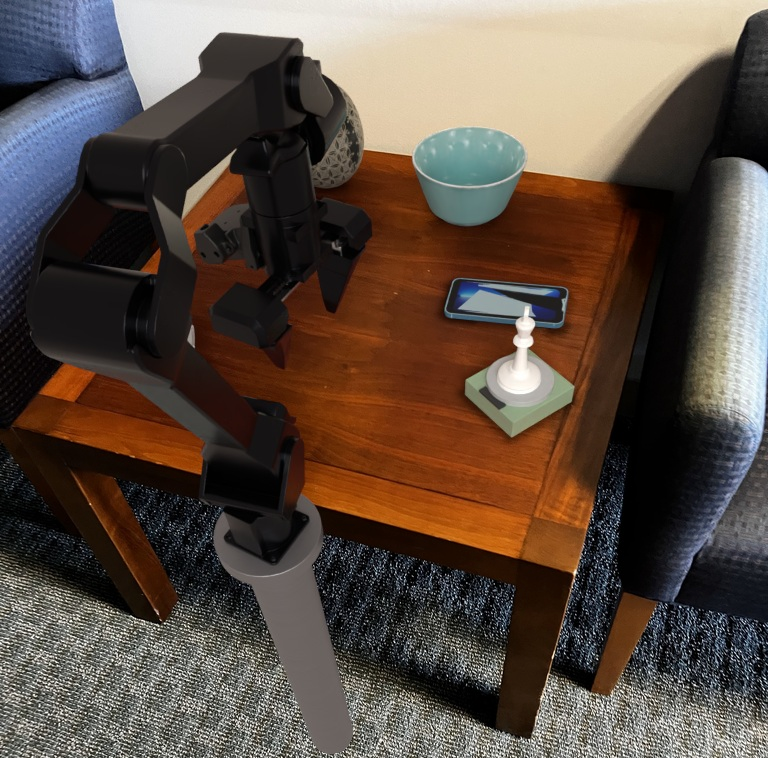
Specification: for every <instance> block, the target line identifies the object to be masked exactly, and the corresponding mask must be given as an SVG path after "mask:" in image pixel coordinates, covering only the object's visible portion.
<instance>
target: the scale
mask: <svg viewBox="0 0 768 758" xmlns="http://www.w3.org/2000/svg"><path fill="white" fill-rule="evenodd" d="M515 355H516V351H514V352H513V353H510V354H509V355H506V356H503V357H501V358H498V359H497V360H495V361H494V362H492V363H491V365H489V366H487V367H486V368H484V369H482V370H479V372H476V373H475V374H473V375H472V376H470V377H468V378H466V379H465V383H464V395H465V396H466V397H467V398H468V400H470V401H471V402H472V403H473V404H474V405H475V406H476V407H477V408H479V410H480V411H481V412H483V413H484V414H485V415H486V416H487V417H488V418H489V419H490V420H491V421H493V422H494V423H495V424H496V425H497V426H498V427H499V428H501V430H503V431H504V433H506V434H507V435H508V436H509V437H510V438H514V437H516V436H517V435H518V434H521V433H522V432H523V431H525V430H526V429H529V428H530V427H532V426H534V425H536V424H537V423H538V422H540V421H542V420H543V419H545V418H547V417H548V416H550V415H552V414H553V413H555V412H557V411H558V410H560V409H562V408H564V407H565V406H567V405H569V404H570V403H572V402H573V398H574V397H573V396H574V392H575V385H574V384H572V383H571V381H569V380H567V379H566V378H565V377H564V376H563V375H561V374H560V373H559V372H558V371H556V369H554V367H551V366H550V365H549V364H548V363H547V362H546V361H544V360H543V359H542V358H540V357H539V356H538V355H537V354H536V353H534V352H533V351H532V350H531V349H530V348H529V347H528V348H527V360H528V361H530V362H532V363H533V364H535V365H536V366H537V367H538V368H539V370H540V373H541V382H540V385H539V386H538V387H537V388H536V389H535V390H534V391H532V392H530V393H526V394H513V393H510V392H507V391H505V390H504V389H502V388H501V387H500V386H499V384H498V382H497V373H498V370H499V368H500V366H501V365H502V364H504V363H505V362H507V361H510V360H514V359H515Z"/></svg>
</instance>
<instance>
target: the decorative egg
mask: <svg viewBox="0 0 768 758" xmlns="http://www.w3.org/2000/svg"><path fill="white" fill-rule="evenodd" d="M335 84H336V85H337V86H338V88H339V89H340V91H341V92H342V94H343V97H344V99H345V100H346V103H347V116H346V119H345V122H344V124H343V125H342V127H341V129H340V130H339V132H338V134H337V135H336V137H335V139H334V141H333V142H332V144H331V146H330V147H329V149H328V151H327V152H326V154H325V156H324V157H323V159H322V161H321V162H319V163H318V164H316V165H314V166H312V174H313V181H314V188H318V189H333V188H338V187H340V186H342V185H343V184H346V183H347V182H348V181H349V180H351V178H352V177H354V175H355V174H356V172H357V171H358V169H359V167H360V165H361V162H362V160H363V155H364V151H365V136H364V128H363V123H362V119H361V116H360V114H359V111H358V109H357V106H356V104H355V103H354V101H353V99H352V98H351V96H350V95H349V94H348V92H347V91H345V90H344V88H343V87H341V86H340V85H339V84H337V83H335Z"/></svg>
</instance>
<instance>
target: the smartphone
mask: <svg viewBox="0 0 768 758" xmlns="http://www.w3.org/2000/svg"><path fill="white" fill-rule="evenodd" d="M569 293H570V291H569V289H568V288H566V287H564V286H559V285H557V286H555V285H545V284H533V283H523V282H512V281H502V280H501V281H500V280H491V279H490V280H489V279H478V278H469V277H468V278H467V277H458V278H457V277H456V278H454V279H453V280H452V282H451V285H450V287H449V292H448V295H447V298H446V302H445V305H444V309H443V310H444V316H445V317H446V318H449V319H459V320H465V321H466V320H467V321H476V322H477V321H478V322H488V323H496V324H499V323H500V324H510V325H516V321H517V319H519V318H520V317H524V312H525V306H529V307H530V308H529V315H528V317H530V318H532V319H533V320H534V321H535V327H537V328H538V327H539V328H550V329H559V328H561V327H563V326H564V323H565V318H566V313H567V307H568V300H569Z"/></svg>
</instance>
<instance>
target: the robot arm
mask: <svg viewBox="0 0 768 758" xmlns="http://www.w3.org/2000/svg"><path fill="white" fill-rule="evenodd" d="M197 58H198V64H199V73H198V74H197V75H196V76H195V77H194V78H193V79H191V80H189V81H188V82H186V83H185V84H183V85H181V86H180V87H178V88H177V89H175V90H174V91H173V92H171V93H169V94H168V95H166V96H165V97H163V98H161V99H159V101H157V102H156V103H154V104H152V105H151V106H149V107H148V108H146V109H145V110H143V111H142V112H140V113H139V114H137V115H136V116H134V117H132V118H131V119H129V120H128V121H126V122H125V123H123V124H122V125H120V126H118V127H116V128H115V129H114V130H112V131H108V132H102V133H99V135H96V136H92V137H89V138H88V139H87V140H86V142H84V144H83V147H82V149H81V152H80V156H79V161H78V167H77V171H76V177H75V182H74V185H73V187H72V188H71V189H70V191H69V193H68V194H67V195H66V196H65V198H64V199H63V200H62V202H61V203H60V204H59V206H58V207H57V208H56V210H55V211H54V212H53V214H52V215H51V216H50V217H49V219H48V220H47V221H46V223H45V224H44V226H43V227H42V228H41V229H40V232H39V234H38V236H37V241H36V246H35V251H34V257H33V263H32V268H31V272H30V279H29V282H28V288H27V293H26V298H25V314H26V319H27V323H28V325H29V327H30V329H31V331H30V332H29V335H30V338H31V340H32V342H33V344H34V345H35V347H37V348H38V350H39V351H40V352H41V353H42V354H43V355H44V356H47V357H49V358H50V359H53V360H56V361H59V362H62V363H64V364H66V365H69V366H72V367H74V368H77V369H80V370H84V371H87V372H91V373H94V374H98V375H101V376H104V377H108V378H111V379H115V380H119V381H122V382H125V383H126V384H128V385H129V386H130V387H132V388H133V389H135V391H137V392H138V393H140V394H141V395H142V396H144V397H145V398H146V399H148V400H149V401H150V402H151V403H153V404H154V405H155V406H157V407H158V408H159V409H161V410H162V411H163V412H165V414H167V415H168V416H169V417H171V418H172V419H173V420H175V421H176V422H177V423H179V424H180V425H182V426H183V427H184V428H185V429H186V430H188V431H189V432H190V433H192V434H193V435H194V436H196V437H197V438H198V439H200V440H201V441H202V442H203V443H202V447H201V450H200V456H201V457H202V464H201V465H202V466H201V473H200V481H199V489H198V499H199V500H200V501H201V502H203V503H204V505H209V506H216V507H217V506H218V507H222V508H223V509H222V513H223V512H224V514H225V517H226V520H227V522H228V525H229V527H230V529H229V530H228V532H227V533H226V534H225V535H224V541H225V542H226V543H227V544H229V545H231V546H233V547H235V548H237V549H239V550H241V551H243V552H246V553H248V554H250V555H252V556H254V557H256V558H258V559H260V560H262V561H264V562H266V563H268V564H270V565H272V566H275V565H277V564H278V563H279V562H280V561H281V559H282V558H283V557H284V555H285V554H286V553H287V551H288V550H289V549H290V547H291V546H292V545H293V543H294V542H295V541H296V539H297V538H298V537H299V535H300V534H301V533H302V531H303V530H304V529H305V527H306V526H307V525H308V523H309V522H310V518H309V516H308V515H306V514H304V513H302V512H300V511H298V510H296V508H297V501H298V499H299V497H300V494H302V492H303V490H304V487H305V485H306V465H305V464H306V462H305V461H306V460H305V458H306V457H305V442H304V439H303V438H302V437H301V433H300V430H299V429H298V426H297V425H296V422H297V416H292V415H291V414H290V412H289V410H288V408H287V406H285V405H284V404H283V403H281V402H280V401H274V400H268V399H263V398H256V397H251V396H247V395H246V396H245V395H241V394H240V393H239V392H237V390H236V389H234V387H233V386H232V385H231V384H230V383H229V382H228V381H227V380H226V379H225V378H224V376H222V375H221V374H220V373H219V372H218V371H217V370H216V369H215V367H213V365H211V363H210V362H208V360H206V358H205V357H204V356H203V355H202V354H201V353H200V352H199V351H198V350H197V349H196V347H195V348H194V347H193V346H192V345H191V344H190V343H189V342H188V336H189V333H190V330H191V326H192V325H193V323H194V316H193V315H192V313H191V311H192V305H193V300H194V294H195V289H196V284H197V279H198V268H197V265H196V262H195V259H194V256H193V252H192V248H191V246H190V243H189V240H188V236H187V233H186V231H185V227H184V224H183V219H182V218H183V214H184V209H185V205H186V200H187V194H188V191H189V190H190V189H191V188H192V187H194V186H195V185H196V184H197V183H198V182H199V181H200V180H201V179H203V178H204V177H205V176H206V175H207V174H209V173H210V172H211V171H212V170H213V169H215V167H217V166H218V165H219V164H221V163H222V162H223V161H224V160H226V158H227V157H228V156H230V155H231V154H232V153H233V154H232V155H231V156H230V159H229V165H228V171H229V173H230V174H232V175H238V176H242V181H243V184H244V190H245V194H246V198H247V203H241V204H234V205H231V206H229V207H227V208H226V209H224V210H223V211H222V212H221V213H220V214H219V215H217V216H216V217H215V218H214V219H213V220H211V222H209V224H208V223H203V224H202V225H201V226H200V227H199V228H198V229H197V230H195V231H194V232H193V238H194V242H195V248H196V251H197V253H198V254H199V256H200V258H201V260H202V261H203V262H204V263H206V264H207V265H224V264H225V263H227V262H228V261H243V260H244V264H245V267H246V269H249V270H252V271H255V272H258V271H259V270H260V269H261V270H263V271H264V274H265V275H266V276H267V277H268V278H266V279H265V280H264V282H262V283H261V284H260V286H258V287H253V286H249V285H247V284H245V283H242V282H240V281H236V282H235V283H234V284H233V285H232V286H231V287H229V289H227V290H226V291H225V293H223V294H222V295H221V296H220V297H219V298H218V299H217V300H216V301H215V302H214V303H212V305H211V306H210V307H208V309H207V311H208V316H209V319H210V322H211V325H212V329H213V332H215V333H217V334H219V335H220V334H221V335H223V336H225V337H227V338H230V339H233V340H236V341H238V342H241V343H244V344H246V345H248V346H251V347H253V348H255V349H259V350H262V351H263V353H264V354H265V355H266V357H268V358H269V360H270V361H271V362H272V364H273V365H274V366H275V367H276V368H278V369H280V370H286V369H287V367H288V364H289V359H290V351H291V344H292V343H291V341H292V336H293V324H290V323H289V319H290V313H289V309H288V306H287V305H286V304H285V303H284V302H285V301H286V300H287V299H288V298H289V297H290V296H291V294H293V292H294V291H295V290H296V289H298V287H299V286H300V285H301V284H306V283H307V281H308V280H309V279H311V277H312V276H313V275H314V274H315V273H316V274H317V275H316V276H317V279H318V280H317V281H318V284H319V289H320V294H321V298H322V302H323V304H324V308H325V310H326V312H328V313H331V314H334V315H335V314H336V313H337V312H338V310H339V308H340V305H341V303H342V300H343V298H344V295H345V293H346V290H347V288H348V285H349V283H350V281H351V279H352V277H353V274H354V272H355V270H356V268H357V266H358V263H359V261H360V259H361V257H362V255H363V253H364V252H365V251H366V249H367V243H368V241H370V240H371V239H372V237H373V224H372V223H373V222H372V218H371V217H370V216H369V214H368V213H367V211H366V210H365V209H364V208H362V207H360V206H355V205H352V204H349V203H346V202H342V201H339V200H336V199H332V198H328V197H326V196H324V197H322V199H321V200H320V199H317V198H316V197H317V196H316V190H315V186H314V181H313V174H312V166H314V165H316V164H318V163H319V162H321V161H322V159H323V157H324V156H325V154H326V152H327V151H328V149H329V147H330V146H331V144H332V142H333V141H334V139H335V137H336V135H337V134H338V132H339V130H340V129H341V127H342V125H343V124H344V122H345V119H346V116H347V103H346V100H345V99H344V97H343V94H342V92H341V91H340V89H339V88H338V86H337V85H338V84H337V83H335V81H334V80H332V79H331V78H330V77H329V76H328V75H325V74H324V73H323V71H322V62H321V60H320V59H313V58H312V57H311V56H307V55H306V56H305V54H304V41H302V39H301V38H299V37H295V36H294V37H293V36H281V35H266V34H255V33H254V34H252V33H240V32H227V31H221V32H218V33H217V35H215V36H214V38H213V39H212V40H211V41H210V42H209V43H208V44H207V45H206V47H205V48H203V50H202V51H201V52H200V53H199V55H198V57H197ZM336 84H337V85H336ZM118 209H123V210H131V211H139V212H145V213H148V216H149V219H150V222H151V225H152V228H153V233H154V235H155V238H156V242H157V243H158V244H157V245H158V248H159V251H160V256H159V260H158V266H157V271H156V273H153V272H146V271H140V270H133V269H132V270H131V269H128V268H127V269H126V268H119V267H113V266H107V265H106V266H105V265H98V264H92V263H85V262H83V258H84V257H85V255H86V254H87V253H88V251H89V250H90V249H91V247H92V246H93V245H94V243H95V242H96V241H97V239H98V238H99V237H100V235H102V233H103V231H104V230H105V229H106V228H107V226H108V225H109V224H110V223H111V221H112V220H113V219H114V217H115V216H116V213H117V210H118ZM303 519H307V520H305V521H304V520H303ZM228 537H231V538H230V539H227V538H228ZM273 559H276V560H275V561H272V560H273Z"/></svg>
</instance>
